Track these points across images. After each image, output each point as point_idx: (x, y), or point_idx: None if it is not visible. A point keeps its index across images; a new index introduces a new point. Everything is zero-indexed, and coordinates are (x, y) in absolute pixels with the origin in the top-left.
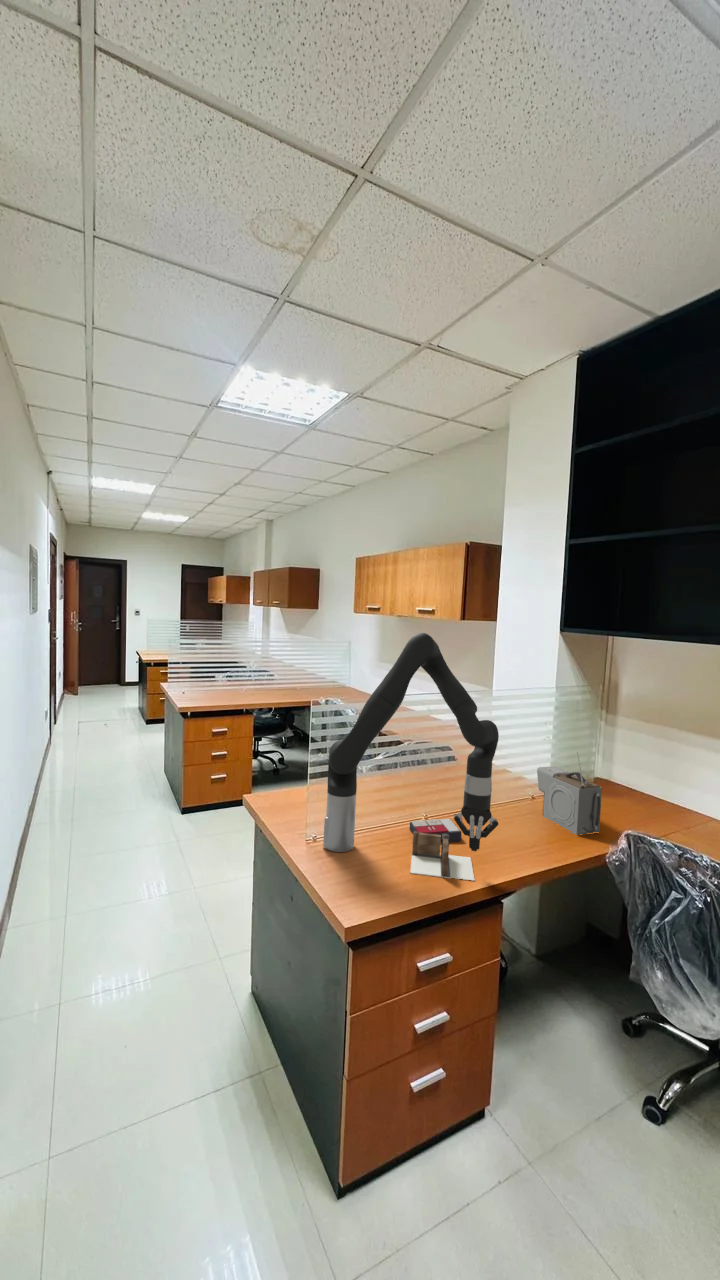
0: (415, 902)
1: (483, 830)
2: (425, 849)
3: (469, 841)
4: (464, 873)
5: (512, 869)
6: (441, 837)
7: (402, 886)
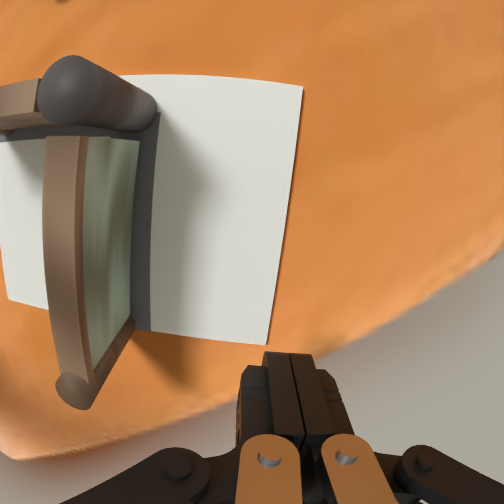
0: (70, 437)
1: (418, 494)
2: (23, 125)
3: (237, 429)
4: (225, 289)
5: (475, 204)
6: None
7: (17, 372)
